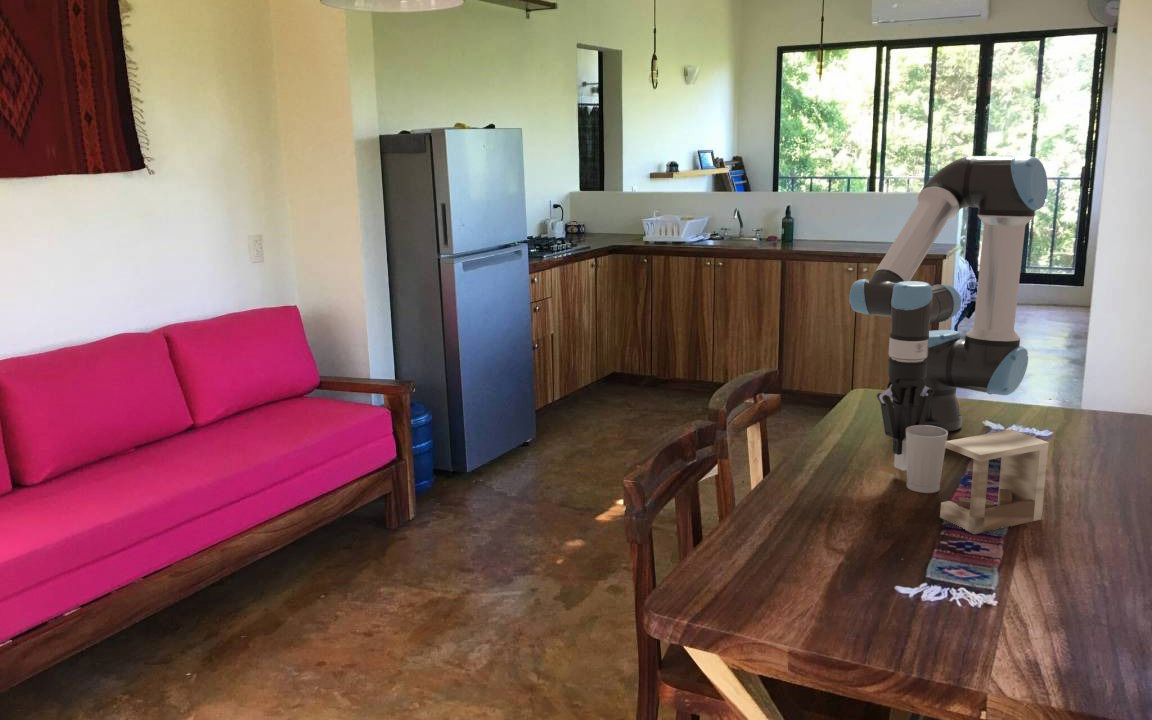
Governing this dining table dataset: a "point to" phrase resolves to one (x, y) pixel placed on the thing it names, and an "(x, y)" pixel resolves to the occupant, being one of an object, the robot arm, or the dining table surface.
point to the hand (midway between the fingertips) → (901, 467)
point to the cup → (925, 457)
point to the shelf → (1000, 481)
